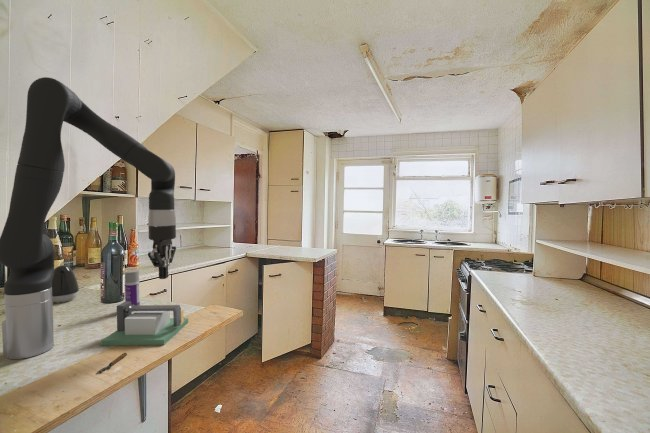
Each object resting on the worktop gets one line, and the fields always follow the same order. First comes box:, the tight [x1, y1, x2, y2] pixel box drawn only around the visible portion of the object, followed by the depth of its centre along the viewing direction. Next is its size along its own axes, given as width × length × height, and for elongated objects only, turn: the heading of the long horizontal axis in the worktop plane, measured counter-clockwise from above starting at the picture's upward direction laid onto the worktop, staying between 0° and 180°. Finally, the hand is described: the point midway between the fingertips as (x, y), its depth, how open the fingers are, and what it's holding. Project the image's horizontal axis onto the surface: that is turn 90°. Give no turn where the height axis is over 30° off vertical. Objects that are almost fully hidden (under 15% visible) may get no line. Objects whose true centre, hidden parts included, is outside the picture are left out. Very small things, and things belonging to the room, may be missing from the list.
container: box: [124, 269, 141, 305], centre depth 113 cm, size 5×5×15 cm
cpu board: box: [101, 301, 189, 346], centre depth 93 cm, size 18×16×10 cm
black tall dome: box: [52, 264, 80, 303], centre depth 122 cm, size 10×10×15 cm
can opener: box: [95, 352, 128, 375], centre depth 75 cm, size 9×2×1 cm, turn 172°
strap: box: [124, 304, 182, 326], centre depth 93 cm, size 16×4×6 cm, turn 92°
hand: (163, 278), depth 92 cm, fingers closed
